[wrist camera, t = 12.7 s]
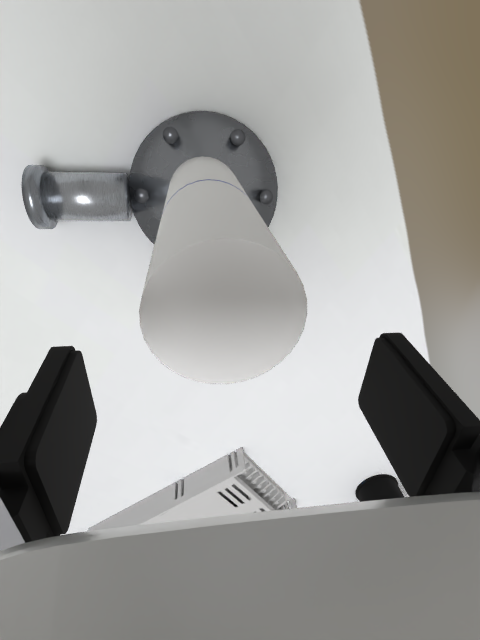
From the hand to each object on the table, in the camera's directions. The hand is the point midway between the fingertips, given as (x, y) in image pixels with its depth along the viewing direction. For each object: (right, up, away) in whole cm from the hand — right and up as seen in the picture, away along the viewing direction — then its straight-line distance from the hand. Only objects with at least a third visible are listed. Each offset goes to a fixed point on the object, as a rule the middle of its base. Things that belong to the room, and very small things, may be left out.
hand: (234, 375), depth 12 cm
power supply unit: (-8, -33, +55) cm, 65 cm away
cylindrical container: (-3, +15, +25) cm, 29 cm away
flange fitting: (-8, +15, +26) cm, 31 cm away
